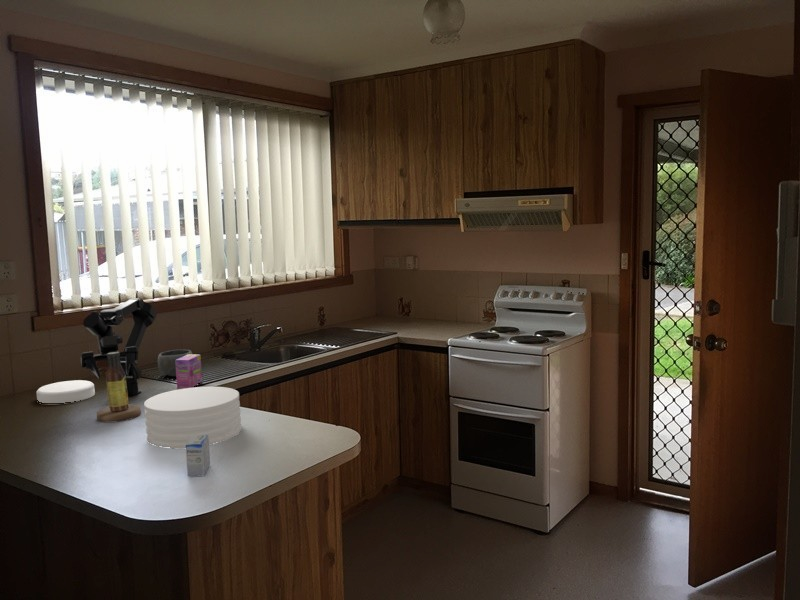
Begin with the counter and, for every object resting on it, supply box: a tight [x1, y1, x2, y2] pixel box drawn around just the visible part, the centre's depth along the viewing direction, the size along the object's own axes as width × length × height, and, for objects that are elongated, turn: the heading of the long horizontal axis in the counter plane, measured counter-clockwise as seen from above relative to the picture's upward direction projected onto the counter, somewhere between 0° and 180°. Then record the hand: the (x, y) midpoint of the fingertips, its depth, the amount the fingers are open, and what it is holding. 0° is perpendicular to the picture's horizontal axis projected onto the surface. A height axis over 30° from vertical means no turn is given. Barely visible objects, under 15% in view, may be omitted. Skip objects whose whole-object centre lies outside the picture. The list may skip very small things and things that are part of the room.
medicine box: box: [185, 435, 211, 477], centre depth 183 cm, size 8×4×9 cm, turn 5°
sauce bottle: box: [105, 351, 129, 412], centre depth 237 cm, size 6×6×20 cm
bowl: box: [157, 349, 193, 377], centre depth 297 cm, size 15×15×10 cm
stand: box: [96, 404, 142, 422], centre depth 239 cm, size 14×14×2 cm
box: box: [175, 353, 203, 390], centre depth 277 cm, size 10×6×12 cm, turn 168°
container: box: [35, 379, 96, 404], centre depth 267 cm, size 20×20×5 cm
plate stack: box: [143, 386, 242, 448], centre depth 215 cm, size 28×28×12 cm
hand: (113, 376), depth 243 cm, fingers open, 9 cm apart
